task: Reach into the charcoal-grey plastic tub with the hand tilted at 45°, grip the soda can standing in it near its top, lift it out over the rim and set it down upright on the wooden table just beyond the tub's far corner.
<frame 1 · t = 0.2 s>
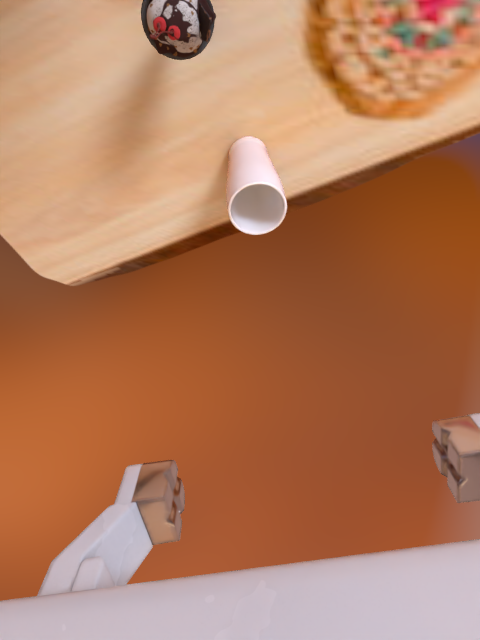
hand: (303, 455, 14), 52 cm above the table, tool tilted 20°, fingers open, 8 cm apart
drinking glass: (247, 153, 60), on the table
sundae: (181, 1, 48), on the table
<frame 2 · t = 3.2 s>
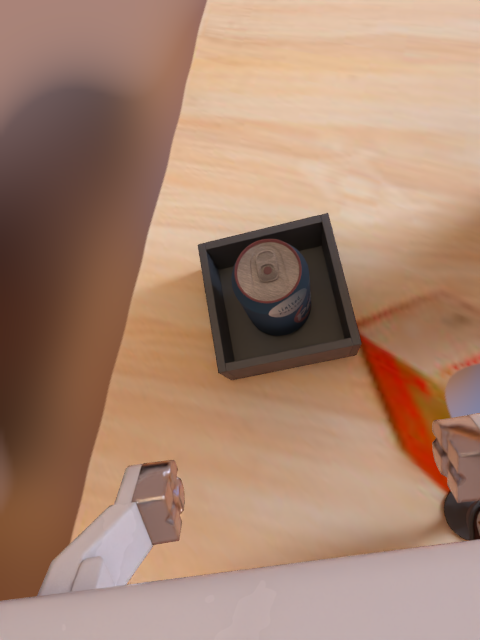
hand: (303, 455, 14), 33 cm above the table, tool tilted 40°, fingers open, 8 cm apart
soda can: (280, 307, 49), resting on tub
tub: (280, 307, 49), on the table
sundae: (470, 512, 41), on the table
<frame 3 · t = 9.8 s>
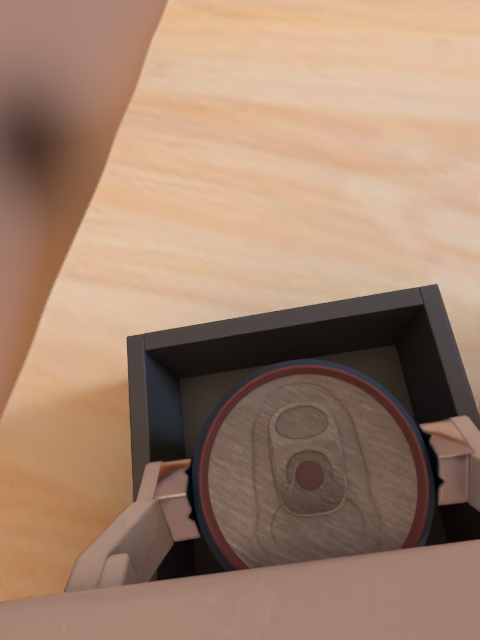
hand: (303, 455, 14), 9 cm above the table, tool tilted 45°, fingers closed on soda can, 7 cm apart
soda can: (305, 476, 22), resting on tub, touching gripper
tub: (304, 476, 22), on the table
when the fingers open (9 cm above the table, at t = 19.6 s): soda can stays where it is, on the table.
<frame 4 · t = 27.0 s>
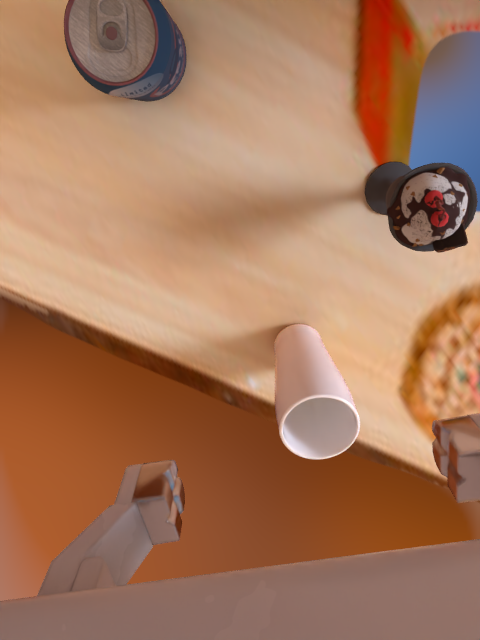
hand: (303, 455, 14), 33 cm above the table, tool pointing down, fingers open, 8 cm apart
soda can: (148, 57, 38), on the table
drinking glass: (297, 342, 50), on the table
sundae: (389, 188, 43), on the table
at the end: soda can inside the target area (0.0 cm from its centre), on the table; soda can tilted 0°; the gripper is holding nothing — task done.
